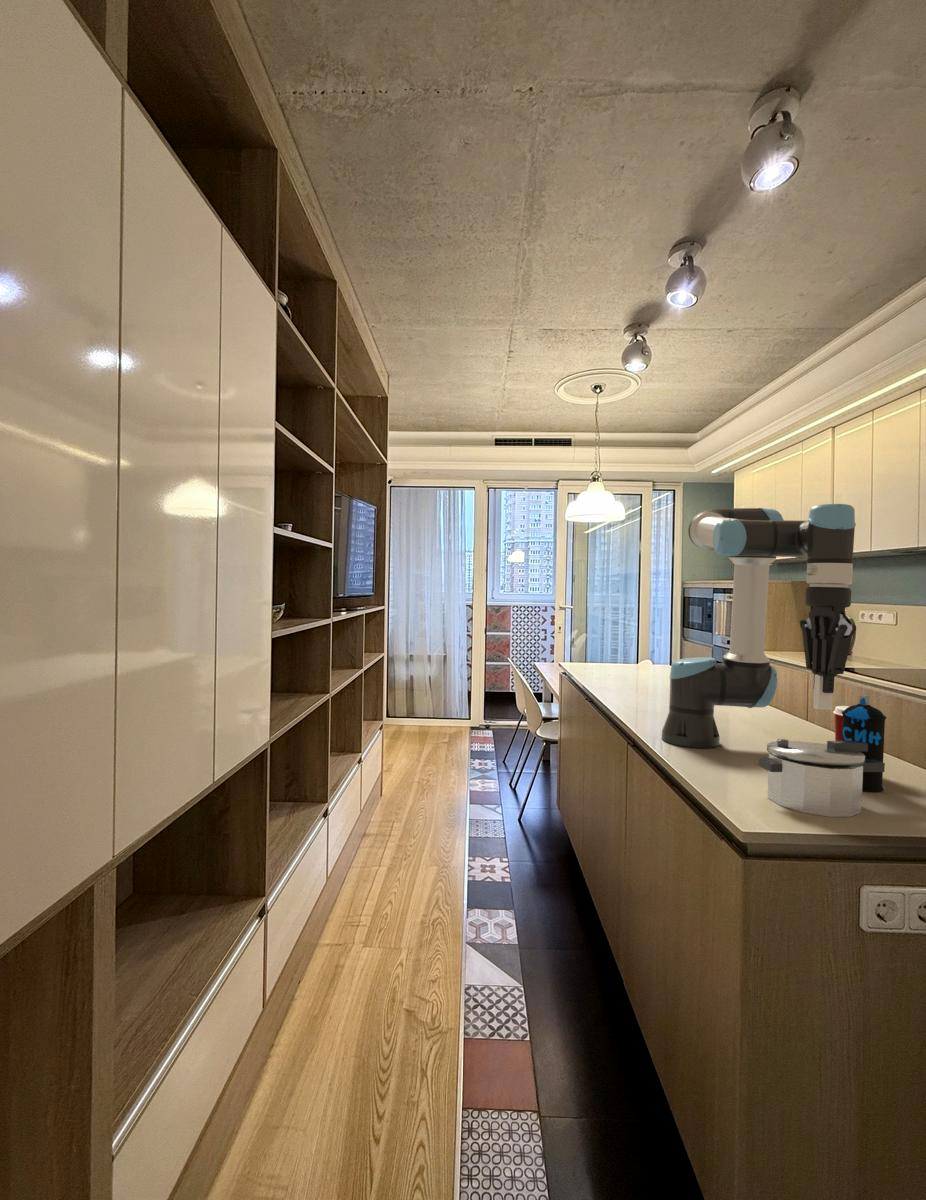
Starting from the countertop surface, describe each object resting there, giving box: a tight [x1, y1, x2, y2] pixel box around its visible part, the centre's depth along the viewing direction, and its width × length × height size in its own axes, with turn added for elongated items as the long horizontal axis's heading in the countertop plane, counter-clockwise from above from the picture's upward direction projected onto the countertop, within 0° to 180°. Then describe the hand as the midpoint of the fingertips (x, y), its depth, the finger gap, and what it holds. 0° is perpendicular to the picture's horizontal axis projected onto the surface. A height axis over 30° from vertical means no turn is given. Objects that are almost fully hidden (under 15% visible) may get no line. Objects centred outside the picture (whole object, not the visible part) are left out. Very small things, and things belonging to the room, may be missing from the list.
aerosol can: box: [842, 694, 887, 793], centre depth 133 cm, size 8×8×20 cm
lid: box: [766, 738, 868, 765], centre depth 122 cm, size 17×19×3 cm
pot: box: [758, 752, 886, 818], centre depth 122 cm, size 18×24×9 cm
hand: (822, 708), depth 117 cm, fingers closed
